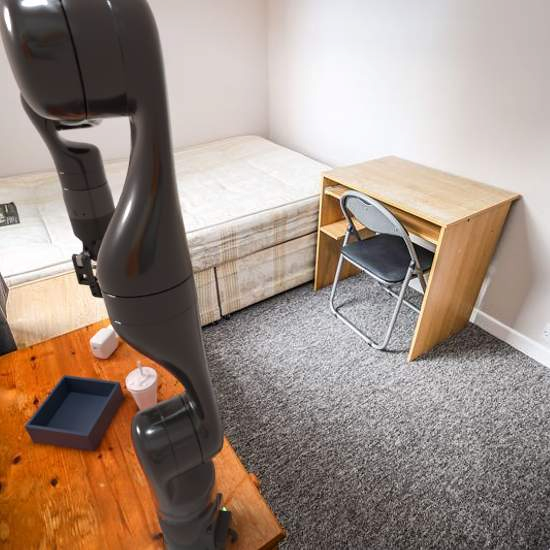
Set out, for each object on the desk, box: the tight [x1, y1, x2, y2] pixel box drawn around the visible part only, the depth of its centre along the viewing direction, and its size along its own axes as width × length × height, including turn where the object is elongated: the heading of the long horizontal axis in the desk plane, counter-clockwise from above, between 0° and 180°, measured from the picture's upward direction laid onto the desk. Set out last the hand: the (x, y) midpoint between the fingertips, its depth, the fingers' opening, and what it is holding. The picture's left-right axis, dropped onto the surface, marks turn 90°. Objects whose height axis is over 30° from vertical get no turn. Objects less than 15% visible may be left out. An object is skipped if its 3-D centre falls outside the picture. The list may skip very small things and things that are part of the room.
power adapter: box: [89, 324, 120, 360], centre depth 100 cm, size 11×5×6 cm, turn 164°
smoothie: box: [125, 360, 159, 411], centre depth 82 cm, size 6×6×14 cm
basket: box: [23, 374, 125, 452], centre depth 81 cm, size 13×13×5 cm
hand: (111, 283), depth 75 cm, fingers open, 8 cm apart
